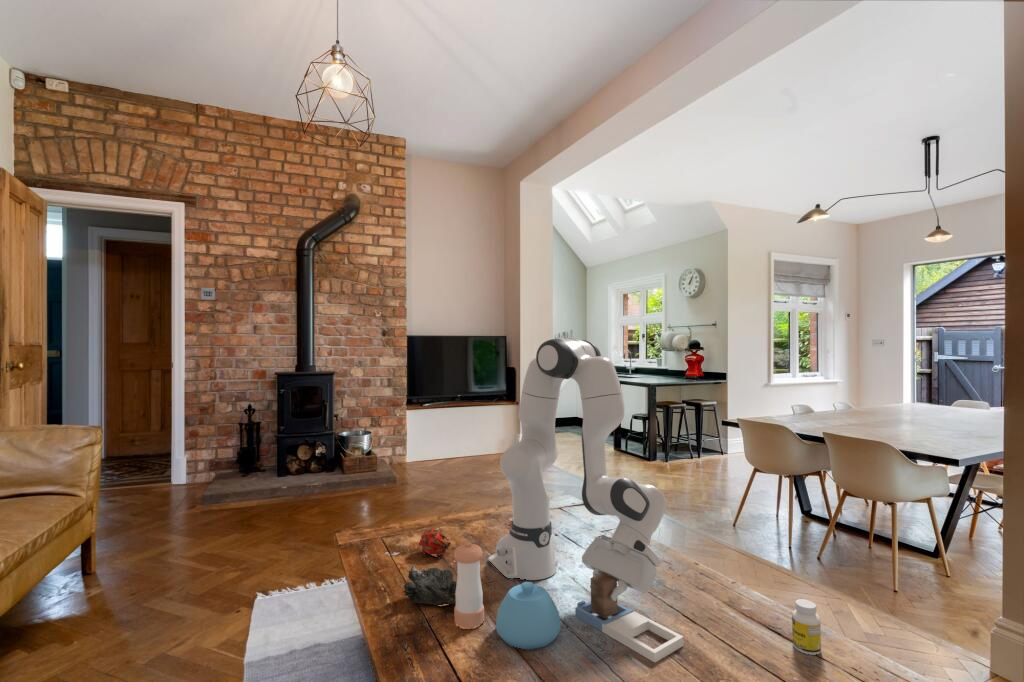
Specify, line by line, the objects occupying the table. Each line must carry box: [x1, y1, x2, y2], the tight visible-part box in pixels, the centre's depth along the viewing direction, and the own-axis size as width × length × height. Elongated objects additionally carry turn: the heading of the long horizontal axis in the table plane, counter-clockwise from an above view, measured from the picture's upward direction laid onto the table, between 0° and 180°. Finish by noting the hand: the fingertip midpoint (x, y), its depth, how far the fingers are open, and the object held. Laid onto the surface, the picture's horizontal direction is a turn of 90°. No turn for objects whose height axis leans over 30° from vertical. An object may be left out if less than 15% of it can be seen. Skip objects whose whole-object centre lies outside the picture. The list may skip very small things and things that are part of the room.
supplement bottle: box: [791, 598, 822, 656], centre depth 113 cm, size 5×5×10 cm
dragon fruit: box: [418, 528, 451, 555], centre depth 167 cm, size 8×8×12 cm
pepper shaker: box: [453, 541, 485, 627], centre depth 126 cm, size 7×7×19 cm
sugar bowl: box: [495, 581, 562, 650], centre depth 120 cm, size 15×15×12 cm
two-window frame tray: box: [574, 600, 685, 663], centre depth 121 cm, size 25×10×2 cm, turn 36°
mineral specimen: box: [402, 565, 457, 606], centre depth 137 cm, size 15×13×10 cm
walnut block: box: [590, 573, 618, 619], centre depth 127 cm, size 4×4×8 cm
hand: (602, 594), depth 126 cm, fingers closed on walnut block, 4 cm apart
